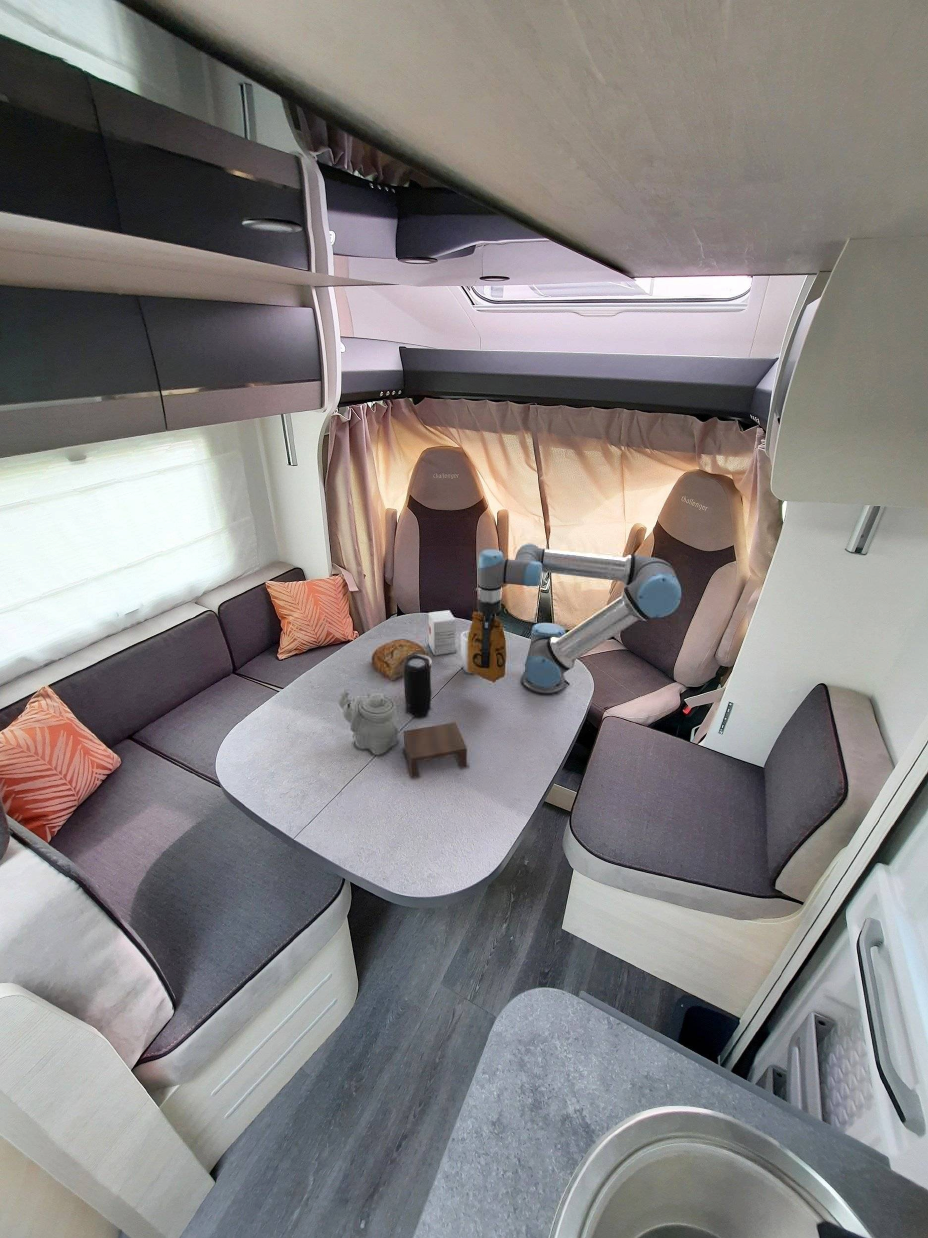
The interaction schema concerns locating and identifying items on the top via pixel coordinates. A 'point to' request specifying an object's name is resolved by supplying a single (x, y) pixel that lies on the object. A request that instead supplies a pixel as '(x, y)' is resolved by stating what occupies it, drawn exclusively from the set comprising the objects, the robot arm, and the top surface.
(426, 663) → the portable speaker
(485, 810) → the top surface
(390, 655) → the bread
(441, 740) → the small table
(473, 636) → the coffee package
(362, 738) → the teapot
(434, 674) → the top surface
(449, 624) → the rectangular carton
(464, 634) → the cup
